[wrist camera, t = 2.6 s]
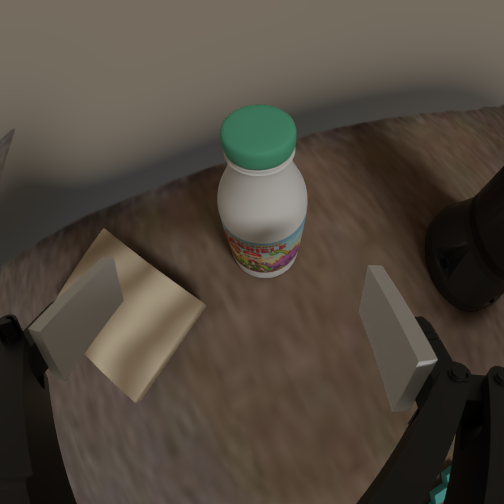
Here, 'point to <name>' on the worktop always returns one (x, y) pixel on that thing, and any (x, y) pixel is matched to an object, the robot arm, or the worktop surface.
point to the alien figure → (440, 488)
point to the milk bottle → (261, 190)
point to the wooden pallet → (137, 318)
